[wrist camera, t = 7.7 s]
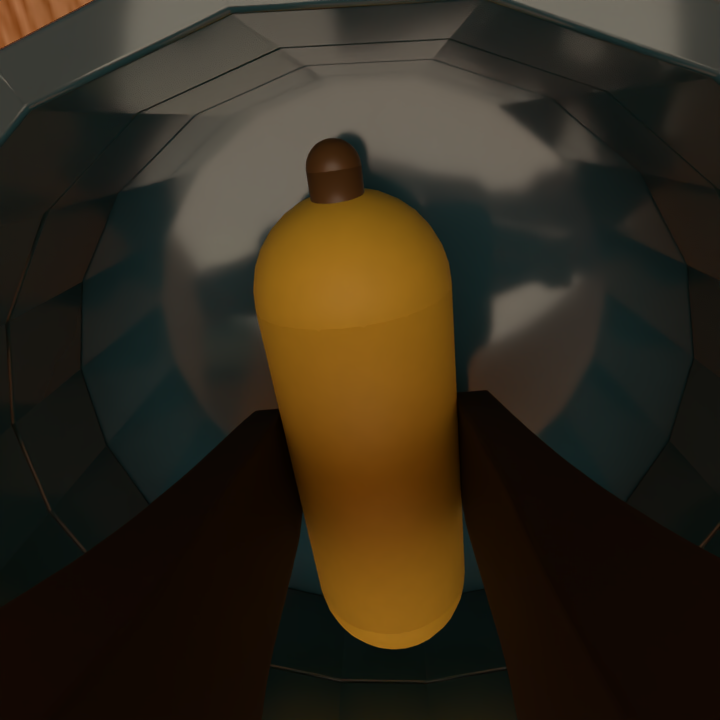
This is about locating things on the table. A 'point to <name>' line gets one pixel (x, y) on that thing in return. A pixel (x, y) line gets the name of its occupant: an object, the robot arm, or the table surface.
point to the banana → (367, 398)
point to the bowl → (396, 178)
